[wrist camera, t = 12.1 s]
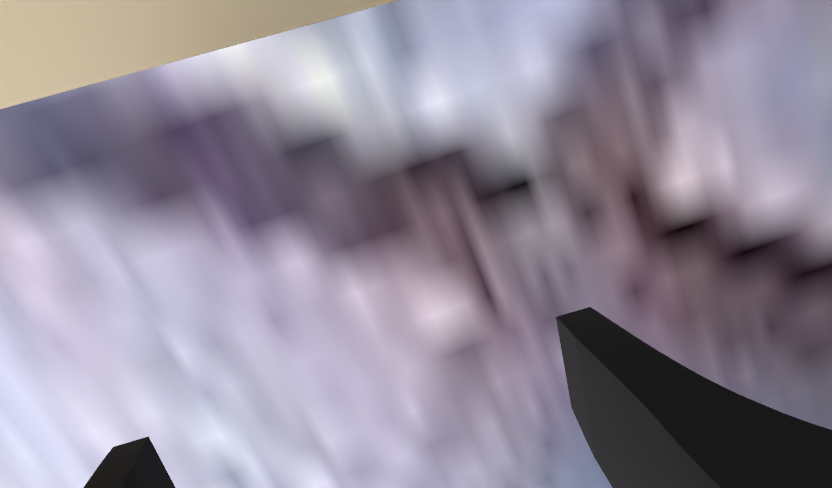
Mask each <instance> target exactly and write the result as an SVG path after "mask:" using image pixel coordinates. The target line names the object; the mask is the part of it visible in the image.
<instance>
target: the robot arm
mask: <svg viewBox="0 0 832 488" xmlns="http://www.w3.org/2000/svg"><path fill="white" fill-rule="evenodd" d="M556 320H557V325H558V331H559V337H560V343H561V349H562V354H563V360H564V366H565V372H566V378H567V383H568V389H569V395H570V401H571V406H572V409H573V411H574V414H575V416H576V418H577V420H578V423H579V425H580V427H581V429H582V432H583V434H584V436H585V438H586V440H587V443H588V445H589V447H590V449H591V451H592V453H593V455H594V457H595V459H596V461H597V462H598V464H599V466H600V467H601V469H602V471H603V472H604V474H605V476H606V477H607V479H608V481H609V482H610V484H611V486H612V487H613V488H832V430H830V429H827V428H824V427H821V426H818V425H814V424H811V423H808V422H805V421H803V420H800V419H797V418H795V417H792V416H789V415H787V414H784V413H781V412H779V411H777V410H774V409H772V408H769V407H767V406H765V405H762V404H760V403H757V402H755V401H753V400H750V399H748V398H745V397H743V396H741V395H739V394H737V393H735V392H732V391H730V390H728V389H726V388H724V387H722V386H720V385H718V384H716V383H714V382H712V381H710V380H708V379H706V378H704V377H702V376H701V375H699V374H697V373H695V372H693V371H692V370H690V369H688V368H686V367H684V366H683V365H681V364H679V363H678V362H676V361H674V360H672V359H671V358H669V357H667V356H666V355H664V354H662V353H661V352H659V351H657V350H656V349H654V348H652V347H651V346H649V345H648V344H646V343H644V342H643V341H641V340H640V339H638V338H637V337H635V336H633V335H632V334H630V333H629V332H627V331H626V330H624V329H623V328H621V327H620V326H618V325H617V324H615V323H614V322H612V321H611V320H609V319H608V318H606V317H605V316H603V315H602V314H600V313H599V312H597V311H596V310H594V309H592V308H590V307H589V308H585V309H582V310H578V311H575V312H572V313H568V314H565V315H561V316H558V317H556ZM84 488H175V486H174V484H173V482H172V480H171V479H170V477H169V475H168V473H167V471H166V469H165V467H164V465H163V463H162V462H161V460H160V458H159V456H158V454H157V452H156V450H155V448H154V446H153V444H152V443H151V441H150V439H149V437H146V438H142V439H139V440H136V441H132V442H129V443H125V444H122V445H119V446H115V447H113V448H112V449H111V451H110V452H109V453H108V454H107V456H106V457H105V458H104V460H103V461H102V463H101V464H100V465H99V467H98V468H97V469H96V471H95V472H94V474H93V475H92V477H91V478H90V479H89V481H88V482H87V484H86V485H85V487H84Z"/></svg>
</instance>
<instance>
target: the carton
mask: <svg viewBox="0 0 832 488" xmlns="http://www.w3.org/2000/svg"><path fill="white" fill-rule="evenodd" d="M394 1H398V0H0V109H3V108H6V107H10V106H14V105H17V104H21V103H25V102H28V101H32V100H36V99H39V98H43V97H47V96H50V95H54V94H58V93H61V92H65V91H69V90H72V89H76V88H80V87H83V86H87V85H90V84H94V83H98V82H101V81H105V80H109V79H112V78H116V77H120V76H123V75H127V74H131V73H134V72H138V71H142V70H145V69H149V68H153V67H156V66H160V65H164V64H167V63H171V62H175V61H178V60H182V59H186V58H189V57H193V56H197V55H200V54H204V53H207V52H211V51H215V50H218V49H222V48H226V47H229V46H233V45H237V44H240V43H244V42H248V41H251V40H255V39H259V38H262V37H266V36H270V35H273V34H277V33H281V32H284V31H288V30H292V29H295V28H299V27H303V26H306V25H310V24H314V23H317V22H321V21H324V20H328V19H332V18H335V17H339V16H343V15H346V14H350V13H354V12H357V11H361V10H365V9H368V8H372V7H376V6H379V5H383V4H387V3H390V2H394Z"/></svg>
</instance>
